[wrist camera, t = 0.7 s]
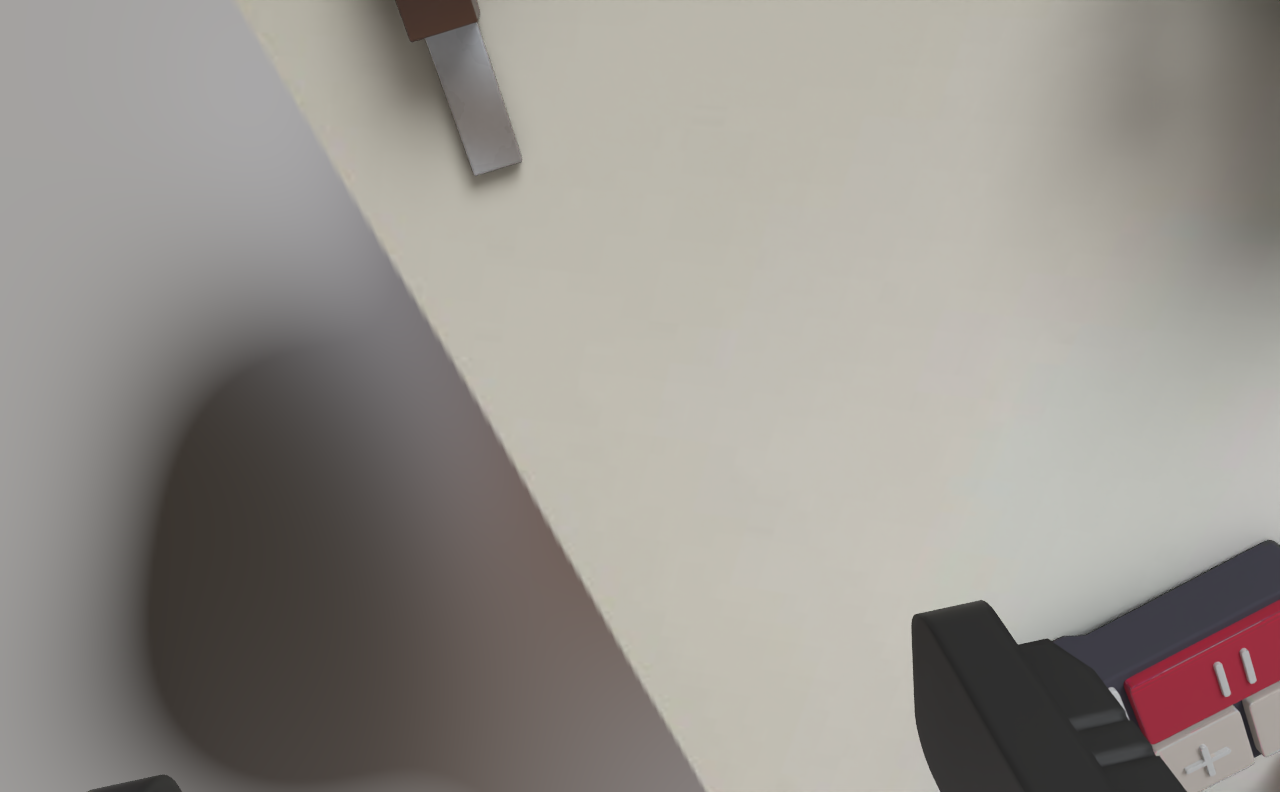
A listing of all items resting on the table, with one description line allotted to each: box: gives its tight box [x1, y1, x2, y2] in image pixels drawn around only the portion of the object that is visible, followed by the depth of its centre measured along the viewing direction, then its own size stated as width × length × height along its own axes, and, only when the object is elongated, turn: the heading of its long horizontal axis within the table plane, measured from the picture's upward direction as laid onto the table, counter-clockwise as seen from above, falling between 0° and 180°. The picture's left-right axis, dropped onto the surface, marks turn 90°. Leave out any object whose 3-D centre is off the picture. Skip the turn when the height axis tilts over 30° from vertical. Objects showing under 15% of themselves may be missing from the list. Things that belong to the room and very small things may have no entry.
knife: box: [395, 0, 522, 176], centre depth 31 cm, size 10×2×3 cm, turn 15°
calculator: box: [1053, 540, 1280, 792], centre depth 49 cm, size 11×4×15 cm
